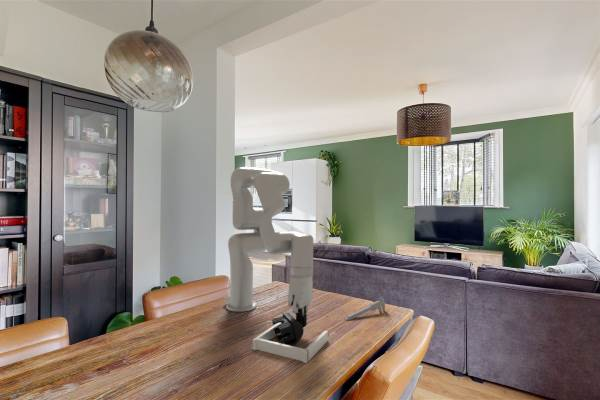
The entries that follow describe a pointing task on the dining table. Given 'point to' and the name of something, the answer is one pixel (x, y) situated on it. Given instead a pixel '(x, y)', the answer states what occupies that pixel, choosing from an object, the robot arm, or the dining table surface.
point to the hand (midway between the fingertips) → (301, 325)
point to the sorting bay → (288, 346)
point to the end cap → (288, 329)
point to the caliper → (371, 307)
